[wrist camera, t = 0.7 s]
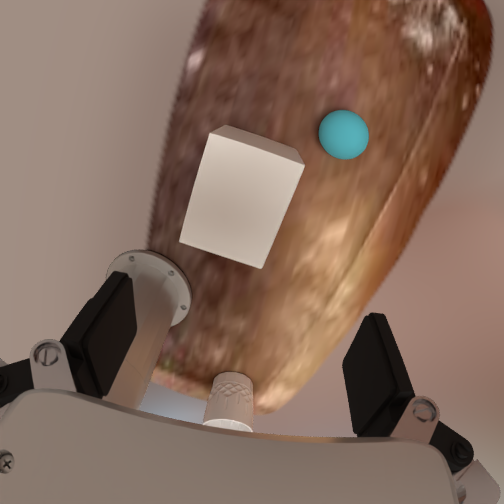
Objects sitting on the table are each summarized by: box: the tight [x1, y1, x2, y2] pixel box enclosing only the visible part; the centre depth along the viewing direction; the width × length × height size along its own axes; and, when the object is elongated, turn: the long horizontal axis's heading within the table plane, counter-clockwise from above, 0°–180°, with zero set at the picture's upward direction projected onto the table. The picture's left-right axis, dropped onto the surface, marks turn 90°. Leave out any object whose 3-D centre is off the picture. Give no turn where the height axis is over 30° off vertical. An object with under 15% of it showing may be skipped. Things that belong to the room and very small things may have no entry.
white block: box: [179, 125, 305, 269], centre depth 29 cm, size 10×8×9 cm
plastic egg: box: [319, 110, 369, 159], centre depth 27 cm, size 5×5×5 cm
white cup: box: [202, 372, 253, 432], centre depth 45 cm, size 8×8×10 cm
